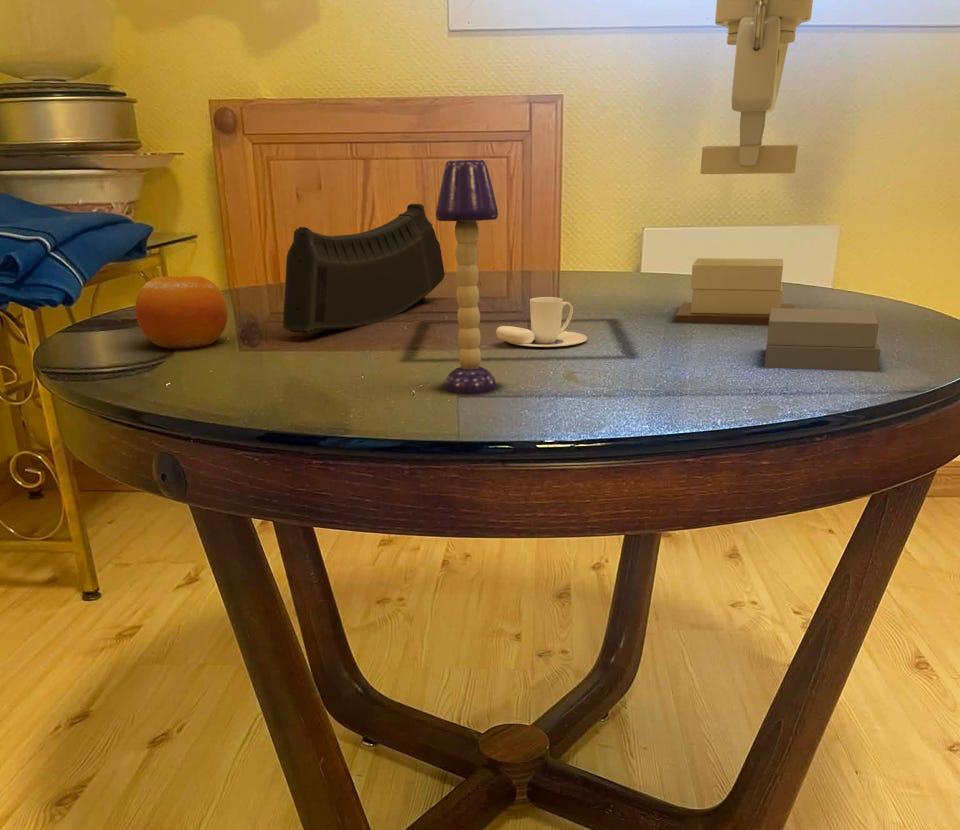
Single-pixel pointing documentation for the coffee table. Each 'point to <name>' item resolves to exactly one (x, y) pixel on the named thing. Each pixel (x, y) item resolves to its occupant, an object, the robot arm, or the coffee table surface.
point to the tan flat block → (768, 162)
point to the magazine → (360, 273)
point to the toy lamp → (467, 264)
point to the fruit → (181, 311)
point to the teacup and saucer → (543, 325)
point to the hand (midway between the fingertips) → (749, 164)
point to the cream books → (733, 291)
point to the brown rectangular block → (822, 339)
